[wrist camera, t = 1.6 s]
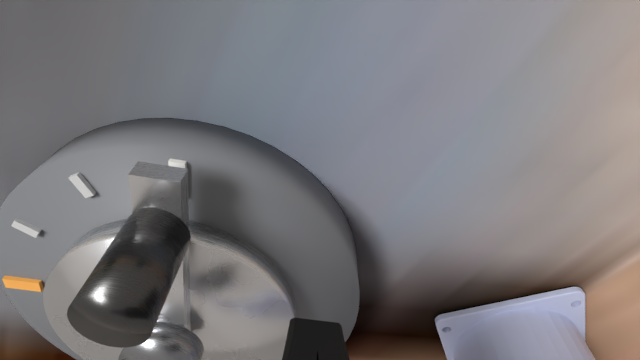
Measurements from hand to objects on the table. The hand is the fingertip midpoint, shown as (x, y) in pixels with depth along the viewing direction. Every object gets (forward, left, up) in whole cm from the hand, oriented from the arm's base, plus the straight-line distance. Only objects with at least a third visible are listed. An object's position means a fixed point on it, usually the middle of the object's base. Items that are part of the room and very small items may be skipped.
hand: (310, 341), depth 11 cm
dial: (-2, +7, -6) cm, 9 cm away
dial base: (-3, +8, -8) cm, 12 cm away
